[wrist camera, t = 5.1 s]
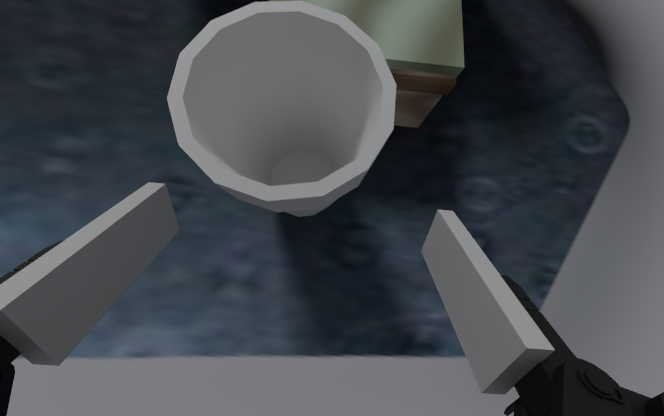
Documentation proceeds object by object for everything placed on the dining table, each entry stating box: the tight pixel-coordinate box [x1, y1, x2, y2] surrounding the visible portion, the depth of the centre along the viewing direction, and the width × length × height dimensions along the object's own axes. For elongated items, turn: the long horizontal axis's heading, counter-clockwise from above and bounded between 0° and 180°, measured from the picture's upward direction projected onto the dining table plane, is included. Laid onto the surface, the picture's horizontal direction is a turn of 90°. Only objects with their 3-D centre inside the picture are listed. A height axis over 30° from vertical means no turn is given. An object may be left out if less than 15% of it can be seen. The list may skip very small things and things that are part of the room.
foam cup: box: [167, 1, 396, 217], centre depth 16 cm, size 10×9×13 cm
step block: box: [269, 0, 464, 128], centre depth 22 cm, size 14×14×8 cm
